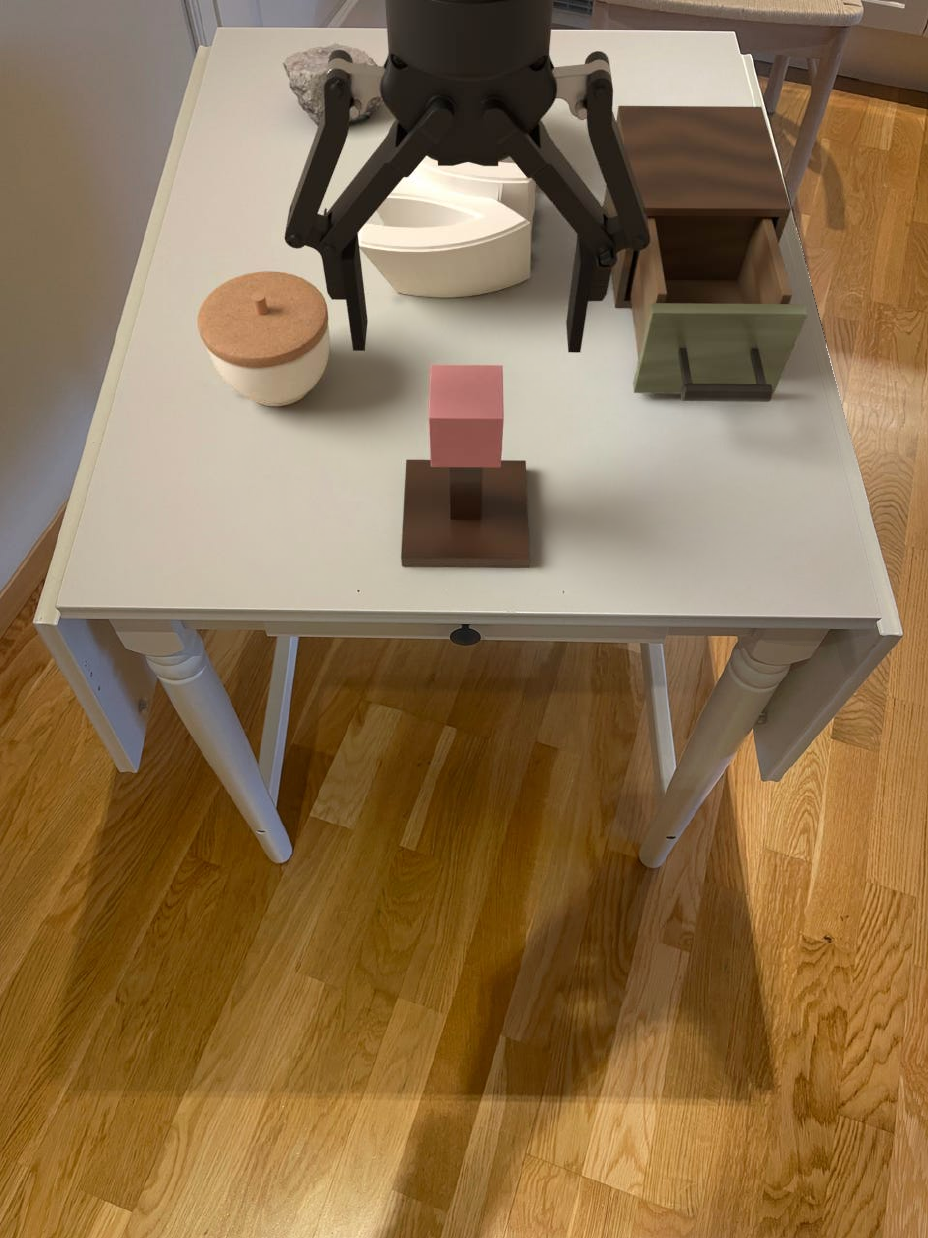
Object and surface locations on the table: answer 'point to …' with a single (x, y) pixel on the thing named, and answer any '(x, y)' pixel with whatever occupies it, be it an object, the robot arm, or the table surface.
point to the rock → (320, 78)
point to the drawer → (712, 309)
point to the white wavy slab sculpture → (454, 230)
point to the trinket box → (267, 335)
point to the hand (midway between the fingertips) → (466, 337)
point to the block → (466, 415)
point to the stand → (465, 515)
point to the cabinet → (698, 169)
